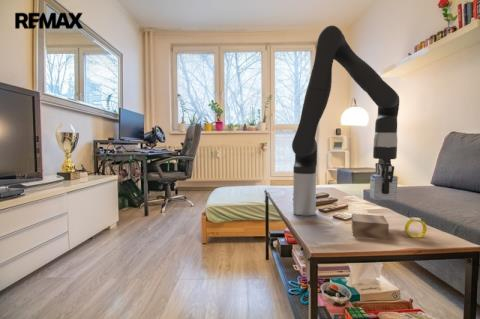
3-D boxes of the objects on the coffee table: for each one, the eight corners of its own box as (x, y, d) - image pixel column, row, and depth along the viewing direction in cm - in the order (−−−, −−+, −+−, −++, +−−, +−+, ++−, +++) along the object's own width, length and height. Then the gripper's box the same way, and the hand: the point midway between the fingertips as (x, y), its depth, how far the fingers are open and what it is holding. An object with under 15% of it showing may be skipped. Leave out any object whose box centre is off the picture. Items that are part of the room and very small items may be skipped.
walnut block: (352, 236, 87) (353, 221, 86) (351, 227, 96) (351, 213, 96) (388, 240, 83) (388, 224, 83) (383, 230, 92) (383, 215, 92)
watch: (408, 239, 84) (407, 220, 83) (403, 236, 86) (402, 217, 86) (428, 237, 83) (427, 218, 83) (422, 234, 86) (422, 216, 86)
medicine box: (391, 198, 101) (392, 174, 100) (397, 200, 96) (398, 176, 96) (369, 197, 102) (370, 174, 101) (373, 199, 97) (374, 175, 97)
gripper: (368, 145, 106) (367, 188, 107) (379, 145, 92) (377, 195, 93) (390, 145, 104) (387, 189, 105) (404, 146, 90) (401, 196, 91)
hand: (383, 192), depth 99 cm, fingers closed on medicine box, 4 cm apart
